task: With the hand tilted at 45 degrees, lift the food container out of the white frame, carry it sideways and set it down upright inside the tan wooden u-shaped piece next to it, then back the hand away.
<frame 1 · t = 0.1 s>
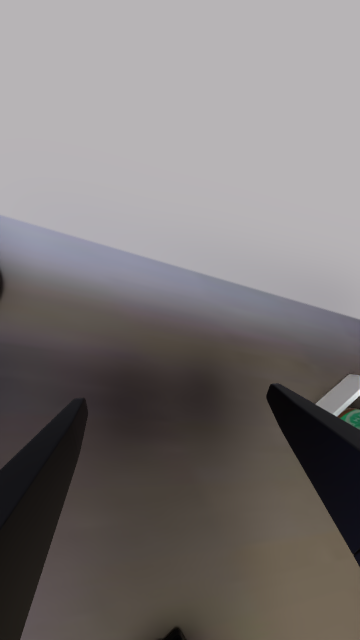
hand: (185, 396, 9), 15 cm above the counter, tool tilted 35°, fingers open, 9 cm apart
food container: (325, 419, 26), resting in white frame
white frame: (333, 426, 26), on the counter
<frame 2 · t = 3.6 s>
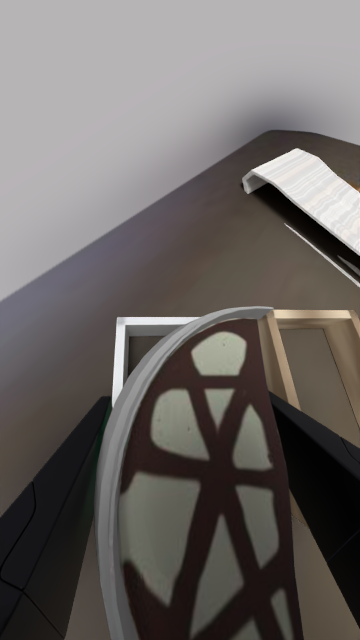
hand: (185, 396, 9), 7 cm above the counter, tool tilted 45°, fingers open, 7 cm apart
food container: (155, 423, 14), resting in white frame, touching gripper
tan wooden u-shaped piece: (312, 401, 17), on the counter
white frame: (172, 414, 14), on the counter
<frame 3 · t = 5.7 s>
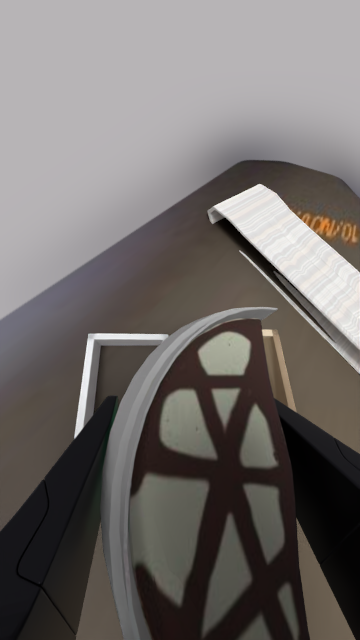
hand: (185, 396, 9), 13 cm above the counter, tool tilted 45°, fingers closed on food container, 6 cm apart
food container: (153, 423, 14), point 7 cm above the counter, touching gripper
tan wooden u-shaped piece: (239, 398, 22), on the counter
long white curved panel: (305, 284, 31), on the counter
white frame: (128, 404, 20), on the counter
when the fingers open (8 cm above the counter, at t = 7.7 s): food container drops 1 cm, resting in tan wooden u-shaped piece.
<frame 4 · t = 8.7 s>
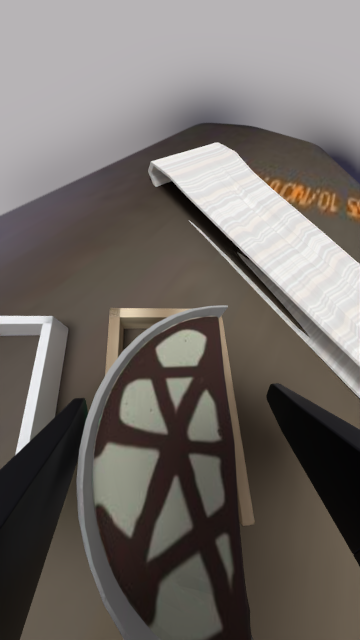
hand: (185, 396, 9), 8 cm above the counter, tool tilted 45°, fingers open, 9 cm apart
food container: (152, 414, 16), resting in tan wooden u-shaped piece, touching gripper
tan wooden u-shaped piece: (168, 405, 16), on the counter
long white curved panel: (270, 260, 25), on the counter
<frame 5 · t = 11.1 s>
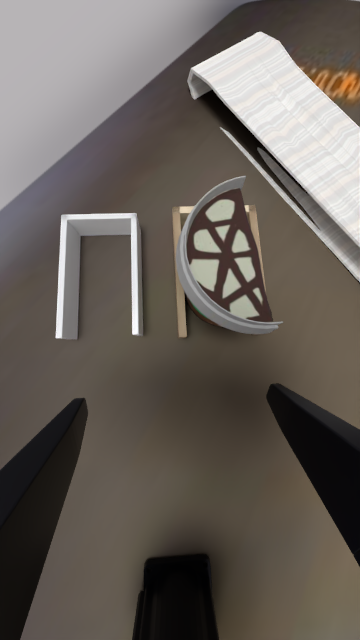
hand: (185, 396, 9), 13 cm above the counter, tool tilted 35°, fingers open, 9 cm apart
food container: (200, 293, 23), resting in tan wooden u-shaped piece
tan wooden u-shaped piece: (213, 280, 23), on the counter
long white curved panel: (302, 170, 26), on the counter
white frame: (108, 284, 22), on the counter
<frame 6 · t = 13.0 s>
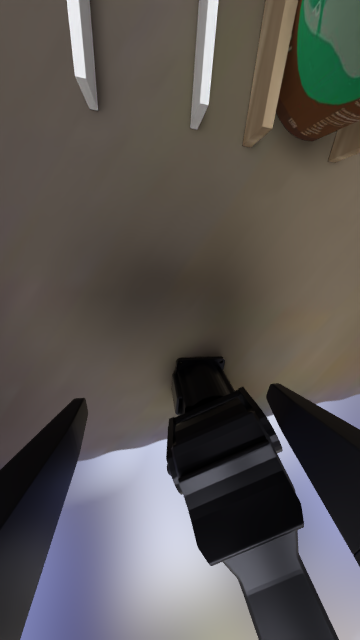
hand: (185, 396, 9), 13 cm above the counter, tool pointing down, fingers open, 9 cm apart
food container: (290, 64, 14), resting in tan wooden u-shaped piece
tan wooden u-shaped piece: (319, 37, 14), on the counter
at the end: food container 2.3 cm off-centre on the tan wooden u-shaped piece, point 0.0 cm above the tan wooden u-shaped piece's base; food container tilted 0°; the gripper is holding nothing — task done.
